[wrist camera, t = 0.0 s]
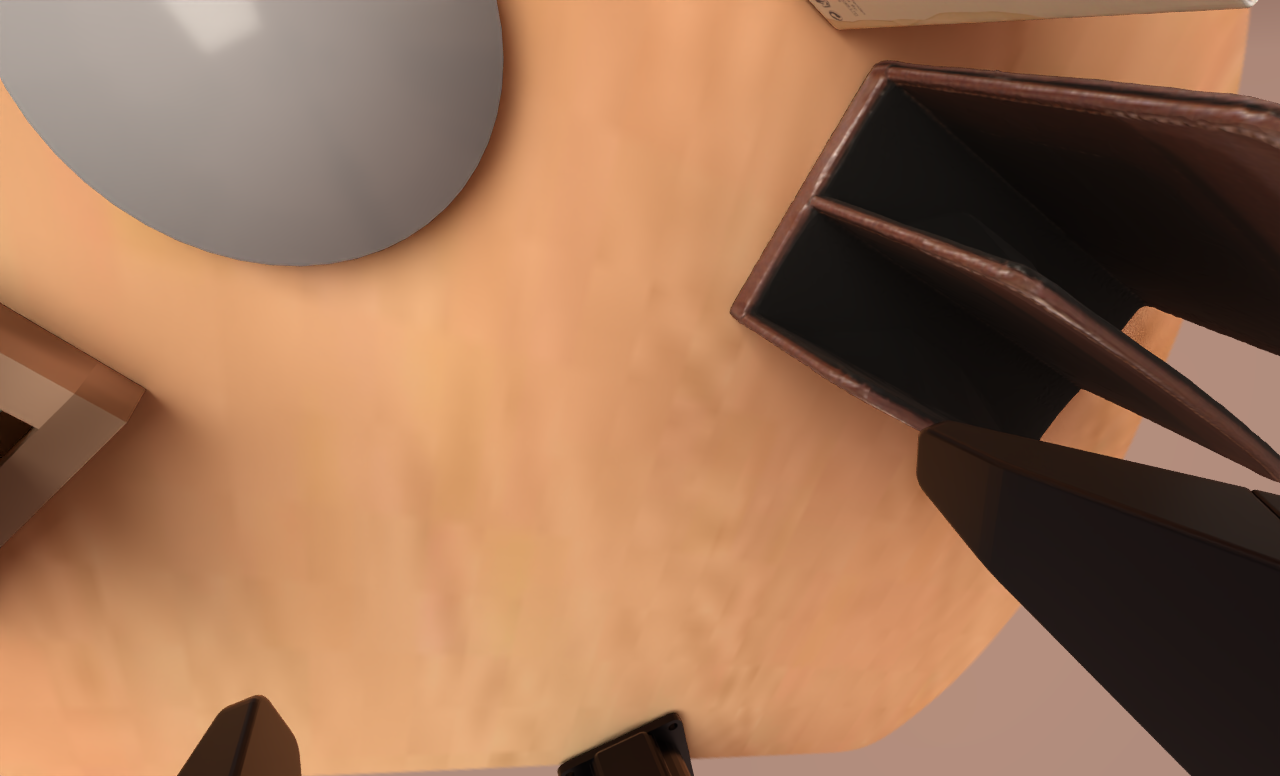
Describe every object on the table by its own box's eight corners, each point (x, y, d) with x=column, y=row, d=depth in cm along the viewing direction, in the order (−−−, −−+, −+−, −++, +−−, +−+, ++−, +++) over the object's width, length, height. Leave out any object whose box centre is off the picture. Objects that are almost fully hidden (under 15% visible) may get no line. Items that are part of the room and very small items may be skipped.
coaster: (538, 200, 21) (545, 207, 20) (150, 303, 18) (141, 316, 18) (422, -279, 15) (425, -297, 15) (-157, -226, 13) (-192, -243, 12)
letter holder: (870, 55, 23) (1406, 79, 11) (1128, 284, 33) (1551, 422, 21) (720, 311, 25) (1037, 549, 14) (1003, 453, 36) (1324, 660, 24)
